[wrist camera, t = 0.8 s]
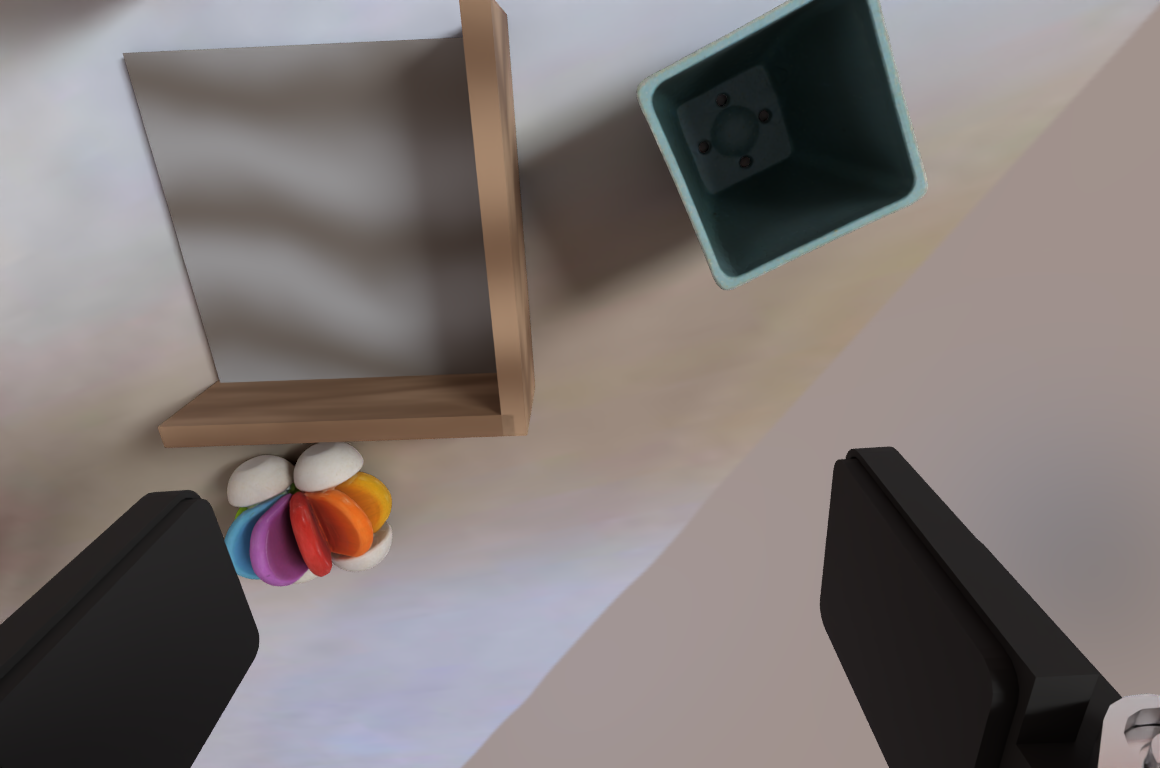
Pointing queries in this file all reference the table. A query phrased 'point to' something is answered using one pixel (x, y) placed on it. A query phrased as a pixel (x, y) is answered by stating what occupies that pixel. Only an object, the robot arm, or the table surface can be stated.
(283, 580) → the rainbow petal toy
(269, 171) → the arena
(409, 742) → the table surface
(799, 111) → the flower pot
